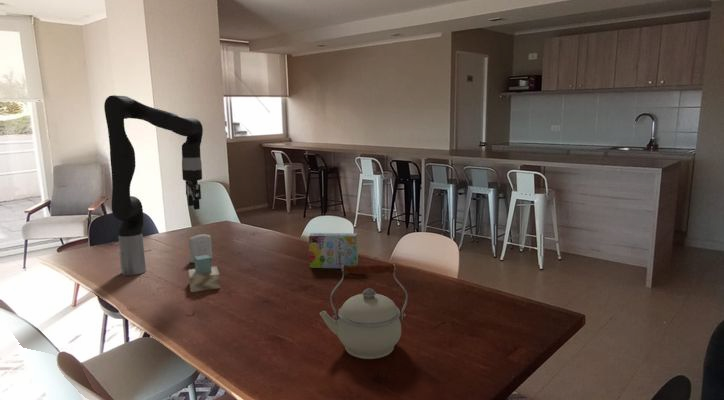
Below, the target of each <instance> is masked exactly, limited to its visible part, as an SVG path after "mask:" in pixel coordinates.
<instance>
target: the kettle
mask: <svg viewBox="0 0 724 400" xmlns="http://www.w3.org/2000/svg"><path fill="white" fill-rule="evenodd" d="M340 269H341V272H342V277H341V279H340V281H338V283H337V284H336V285H335V287H334V288H333V289H332V291H331V293H330V299H329V302H330V305H331V308H332V310H333V313H334V314H335V315H332V316H330V315H329V314H328V313H327V311H326V310H322V311H320V312H319V315H320V317H321V318H322V320H323V321H324V322H325V324H326V326H327V327H328V329H329V330H330V331H331V332H333V334H335V335H336V336H337V338H338V339H339V340H340V342H341V344H342V345H343V346H344V349H345V350H346V352H347V353H348V354H349V355H350V356H353V357H354V358H357V359H363V360H374V359H375V360H376V359H381V358H384V357H386V356H388V355H390V354H391V353H392V352H393V351H394V349H395V345H397V343H398V342H399V340H400V338H401V335H402V324H401V320H402V321H403V318H404V317H406V313H404V311H405V309H406V307H407V304H408V300H409V299H408V298H409V296H408V292H407V290H406V288H405V287H404V286H403V285H402V283H401V282H400V281H399V280H398V279H397V277H396V269H397V268H396V264H394V263H389V264H379V263H378V264H377V263H375V264H370V263H369V264H358V265H354V266H348V265H343V268H340ZM383 273H389V274H393V279H394V280H395V281H396V282H397V284H398V285H399V286H400V287H401V288H402V290H403V292H404V293H405V301H404V302H403V303H404V304H403V306H402V308H401V311H400V309H399V307H398V306H397V305H396V304H395V302H394V301H393V300H392V299H390V298H389V297H388V296H385V295H383V294H379V293H377V292H376V291H375V290H374V289H373V288H370V287H368V288H365V289H364V290H363V291H362V293H359V294H356V295H353V296H351V297H349V298H348V299H347V300H346V301H344V303H343V304H342V306H341V307H340V308H339V309H338V311H337V310H336V308H335V306H334V303H333V299H332V298H333V297H332V296H333V294H334V292H335V291H337V289H338V287H339V286H340V285H341V284H342V283H343V281H344V277H345V275H349V274H355V275H356V274H359V275H363V274H365V275H367V274H368V275H369V274H371V275H372V274H383ZM400 319H401V320H400Z"/></svg>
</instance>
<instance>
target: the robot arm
mask: <svg viewBox="0 0 724 400" xmlns="http://www.w3.org/2000/svg"><path fill="white" fill-rule="evenodd" d="M103 107H104V115H105V120H106V126H107V132H108V134H107V135H108V143H109V161H110V170H111V183H112V184H111V187H112V189H111V213H112V214H113V217H114V218H115V219H116V220H118V221H122V222H121V224H120V226H119V228H118V229H117V236H118V245H119V259H120V270H121V274H122V276H123V277H125V276H127V277H128V276H137V275H141V274H145V272H146V271H147V269H146V267H147V266H146V257H145V248H144V247H145V246H144V236H143V228H144V209H143V204H142V202H141V200H140V199H139V198H138V197H137V196H131V183H132V180H133V177H134V174H135V171H136V164H137V163H136V153H135V148H134V146H133V143H131V141H130V139H129V137H128V135H127V133H126V129H125V120H126V119H137V120H141V121H145V122H147V123H149V124H151V125H152V126H155V127H158V128H161V129H163V130H166V131H170V132H172V133H174V134H177V135H178V136H182V137H186V140H185V141H184V142H183V143H182V144H181V172H182V174H181V175H182V176H181V177H182V180H183V181H185V195H186V196H187V201H188V202H187V204H188V206H189V207H192V206H193V209H194V210H195V211H197V210H200V207H201V206H200V200H202V194H201V193H202V191H201V188H202V187H201V184H199V183H198V181H202V180H203V168H202V165H203V163H202V158H201V144H202V139H203V133H204V131H203V130H204V129H203V124H202V122H201V120H199V119H198V118H194V117H193V118H186V117H180V116H179V115H177V114H175V113H174V112H173V113H172V112H170V111H167V110H163V109H159V108H155V107H152V106H149V105H146V104H143V103H141V102H139V101H137V100H136V99H133V98H131V97H129V96H125V95H115V94H114V95H109V96H108V97H106V99H105V100H104V105H103Z"/></svg>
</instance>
